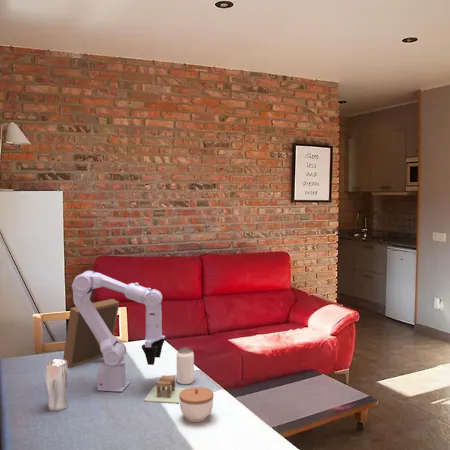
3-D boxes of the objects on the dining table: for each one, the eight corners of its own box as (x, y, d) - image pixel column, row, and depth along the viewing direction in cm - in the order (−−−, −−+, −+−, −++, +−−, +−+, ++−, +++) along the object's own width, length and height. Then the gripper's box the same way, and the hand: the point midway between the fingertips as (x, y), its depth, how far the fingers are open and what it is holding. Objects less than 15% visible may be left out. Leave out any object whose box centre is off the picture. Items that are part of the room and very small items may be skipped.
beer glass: (47, 413, 151) (46, 367, 150) (45, 404, 157) (44, 360, 156) (70, 408, 154) (69, 364, 153) (67, 400, 160) (66, 357, 159)
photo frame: (62, 365, 193) (61, 305, 191) (104, 351, 211) (104, 296, 209) (85, 374, 184) (85, 311, 183) (127, 358, 202) (127, 301, 200)
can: (191, 385, 173) (191, 353, 172) (174, 384, 174) (174, 352, 174) (195, 378, 179) (195, 347, 179) (179, 377, 181) (179, 346, 180)
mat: (144, 401, 160) (144, 400, 159) (154, 387, 171) (154, 386, 171) (178, 403, 158) (178, 402, 158) (186, 389, 170) (186, 388, 170)
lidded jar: (200, 429, 140) (200, 398, 140) (172, 420, 146) (172, 390, 146) (219, 415, 150) (219, 386, 149) (192, 407, 155) (192, 379, 155)
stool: (162, 389, 169) (162, 375, 169) (174, 389, 168) (174, 376, 168) (156, 397, 162) (156, 383, 162) (169, 398, 161) (169, 383, 161)
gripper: (158, 330, 162) (159, 368, 163) (169, 319, 177) (169, 354, 177) (139, 329, 163) (139, 367, 164) (151, 318, 178) (151, 353, 178)
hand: (154, 360), depth 171 cm, fingers open, 7 cm apart
